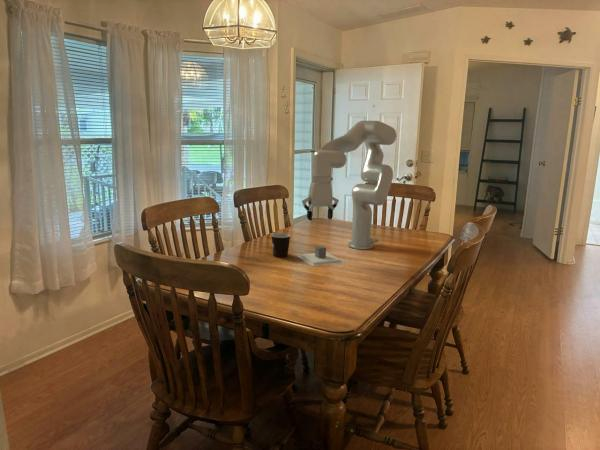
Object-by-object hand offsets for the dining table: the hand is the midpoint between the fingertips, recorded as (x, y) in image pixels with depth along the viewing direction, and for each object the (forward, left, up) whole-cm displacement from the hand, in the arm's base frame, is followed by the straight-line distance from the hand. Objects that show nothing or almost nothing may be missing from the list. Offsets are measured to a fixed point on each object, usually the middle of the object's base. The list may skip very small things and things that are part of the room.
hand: (319, 219), depth 196 cm
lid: (-1, +1, -18) cm, 18 cm away
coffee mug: (+13, -11, -19) cm, 26 cm away
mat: (-1, +1, -19) cm, 19 cm away
